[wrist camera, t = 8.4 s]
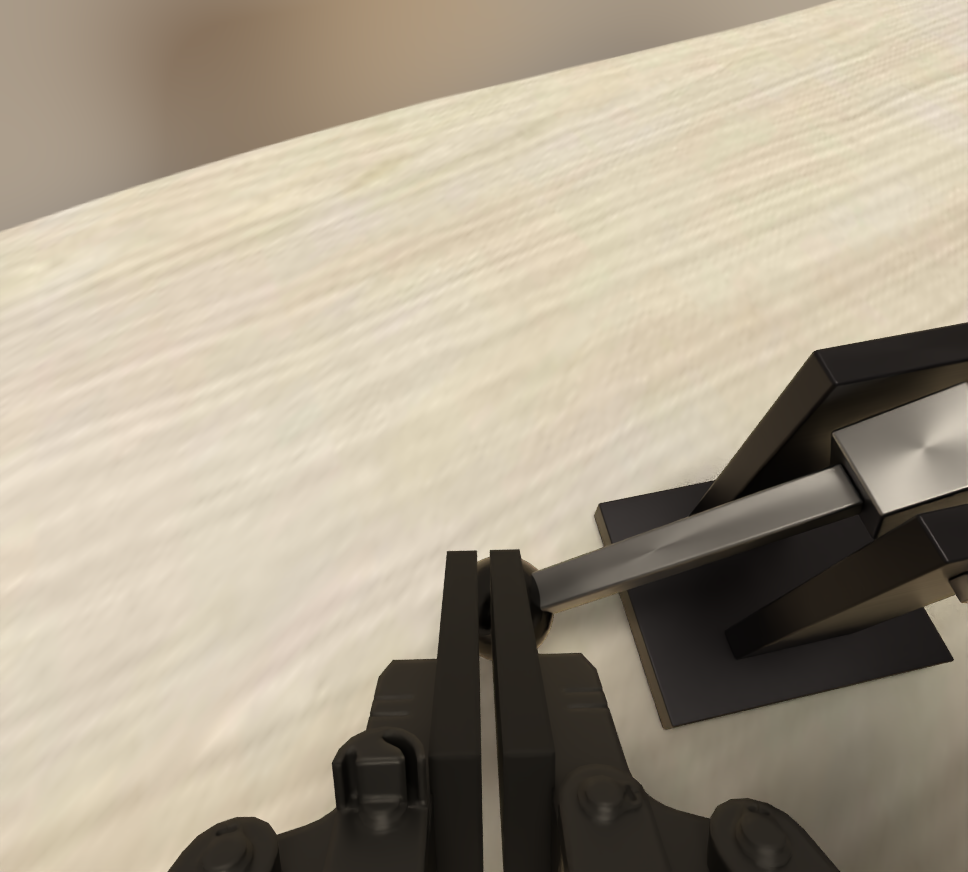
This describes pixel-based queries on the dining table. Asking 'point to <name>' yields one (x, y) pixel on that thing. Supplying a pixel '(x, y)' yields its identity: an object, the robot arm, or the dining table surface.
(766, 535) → the lever
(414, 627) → the dining table surface
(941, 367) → the bracket
